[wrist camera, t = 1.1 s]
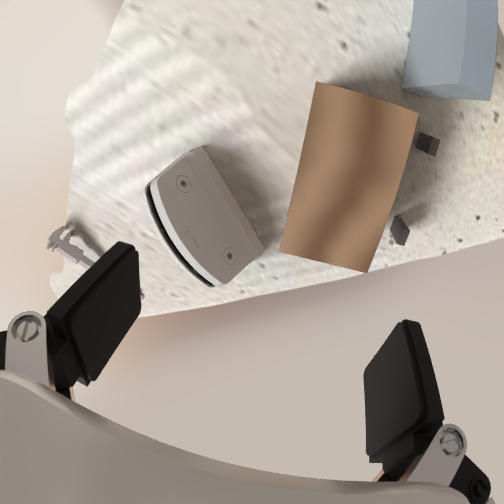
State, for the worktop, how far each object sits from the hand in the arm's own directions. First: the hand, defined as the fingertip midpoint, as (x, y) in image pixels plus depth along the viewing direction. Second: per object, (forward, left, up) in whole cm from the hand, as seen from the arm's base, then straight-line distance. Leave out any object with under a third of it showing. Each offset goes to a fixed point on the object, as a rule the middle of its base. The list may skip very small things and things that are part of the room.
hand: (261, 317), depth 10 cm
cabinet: (-1, +7, -27) cm, 28 cm away
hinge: (+9, -10, -28) cm, 31 cm away
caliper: (+23, -30, -28) cm, 47 cm away
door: (-19, +11, -27) cm, 35 cm away
